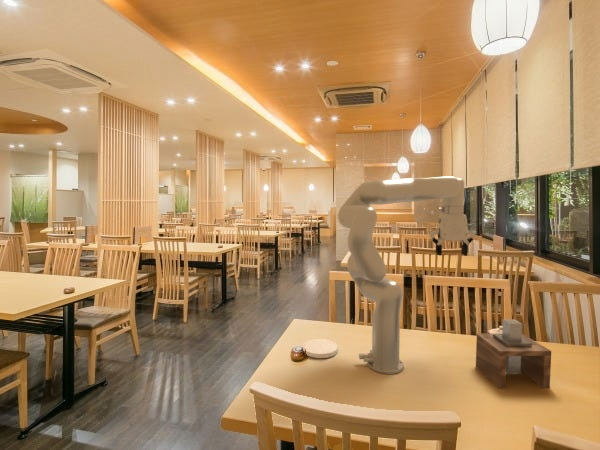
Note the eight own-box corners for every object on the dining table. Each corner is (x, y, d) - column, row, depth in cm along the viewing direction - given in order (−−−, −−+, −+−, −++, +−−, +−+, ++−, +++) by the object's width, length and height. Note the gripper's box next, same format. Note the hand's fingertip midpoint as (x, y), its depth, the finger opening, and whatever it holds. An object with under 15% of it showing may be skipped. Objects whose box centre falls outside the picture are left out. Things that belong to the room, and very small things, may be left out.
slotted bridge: (498, 388, 106) (500, 351, 105) (475, 366, 120) (476, 333, 119) (549, 388, 106) (551, 351, 105) (520, 366, 120) (521, 333, 119)
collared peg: (505, 377, 109) (507, 325, 107) (491, 365, 117) (493, 317, 115) (530, 377, 108) (532, 325, 107) (515, 365, 116) (516, 317, 115)
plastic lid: (336, 361, 125) (336, 355, 124) (299, 359, 127) (299, 352, 127) (338, 346, 138) (338, 340, 138) (305, 343, 141) (305, 337, 141)
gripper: (433, 211, 125) (432, 256, 126) (480, 210, 125) (479, 256, 126) (426, 210, 132) (425, 253, 134) (470, 210, 132) (469, 253, 133)
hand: (451, 254), depth 130 cm, fingers open, 9 cm apart
